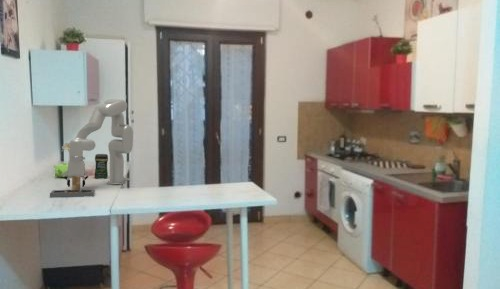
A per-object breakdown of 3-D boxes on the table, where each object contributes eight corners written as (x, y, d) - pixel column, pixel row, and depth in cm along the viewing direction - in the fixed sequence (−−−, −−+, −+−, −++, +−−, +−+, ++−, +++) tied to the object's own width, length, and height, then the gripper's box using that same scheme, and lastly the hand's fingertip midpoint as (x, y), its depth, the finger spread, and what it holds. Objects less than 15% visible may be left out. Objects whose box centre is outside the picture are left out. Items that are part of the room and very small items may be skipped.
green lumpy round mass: (71, 175, 316) (72, 161, 315) (77, 178, 305) (78, 163, 304) (51, 176, 306) (51, 162, 305) (56, 179, 295) (56, 164, 294)
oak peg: (80, 190, 259) (80, 174, 258) (79, 191, 255) (79, 176, 254) (72, 190, 258) (73, 175, 257) (72, 191, 253) (72, 176, 253)
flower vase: (79, 170, 341) (79, 141, 339) (78, 174, 323) (78, 143, 322) (62, 171, 336) (62, 141, 334) (60, 174, 319) (60, 143, 317)
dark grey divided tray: (94, 193, 251) (94, 189, 250) (93, 196, 242) (93, 192, 242) (52, 194, 244) (52, 190, 244) (49, 197, 235) (49, 193, 235)
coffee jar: (93, 178, 303) (93, 154, 302) (95, 177, 311) (95, 153, 310) (107, 178, 305) (107, 154, 304) (108, 177, 313) (108, 153, 312)
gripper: (91, 158, 261) (91, 185, 262) (62, 158, 256) (62, 185, 257) (90, 159, 254) (90, 187, 255) (60, 159, 249) (60, 187, 250)
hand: (76, 186), depth 256 cm, fingers open, 7 cm apart
